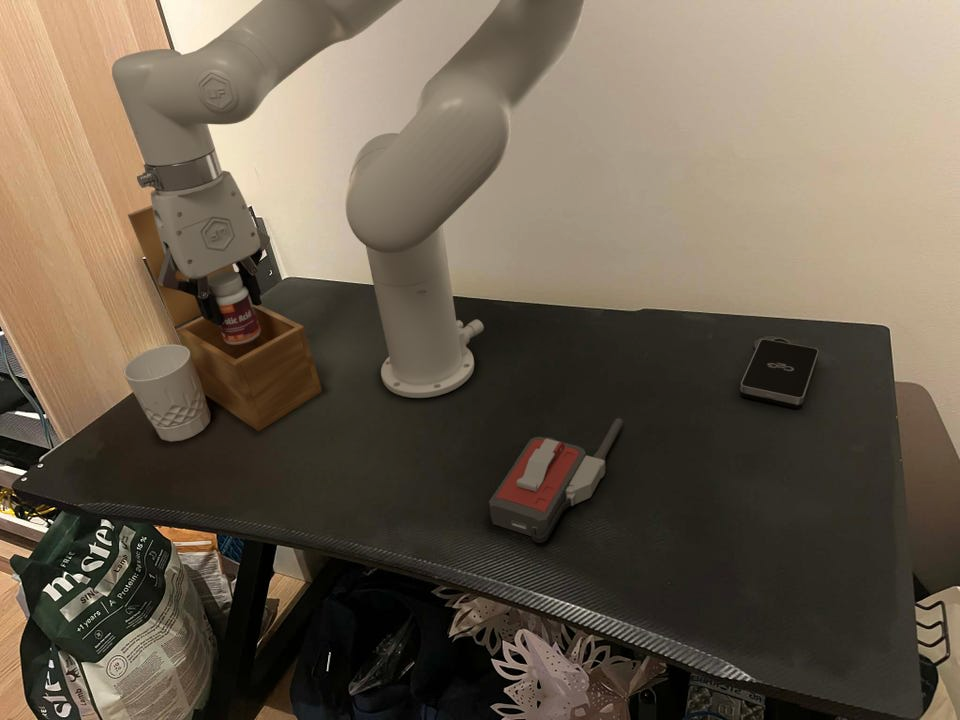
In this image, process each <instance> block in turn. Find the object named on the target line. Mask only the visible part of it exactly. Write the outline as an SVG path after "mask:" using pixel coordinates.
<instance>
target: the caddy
mask: <svg viewBox="0 0 960 720" xmlns="http://www.w3.org/2000/svg"><path fill="white" fill-rule="evenodd" d="M253 307H254V310H255V313H256V316H257V319H258V322H259V325H260V329H261V332H260V334H259V336H258V337H257V338H256V339H254V340H253V341H251V342H248V343H245V344H241V345H230V344H227V343H226V342H225V341H224V339H223V336H222V333H221V330H220V328H219V326H218V325H216V324H214V323H213V322H211V321H209V320H206V319H204V318H203V316H202V315H201V316H200V317H197V318H195V319H194V320H191V321H189V322H188V323H185V324H182V325H181V326H179V327H177V328H175V331H176V334H177V336H178V338H179V341H180V343H181V344H180V345H182V346H185V347H187V348H188V349H189V350H190V353H191V356H192V359H193V362H194V365H195V367H196V370H197V373H198V376H199V379H200V382H201V385H202V389H203V391H204V394H205V397H206V398H209V399H210V400H212V401H213V402H215V404H218V405H219V406H221V407H222V408H223V409H224V410H226V411H227V412H229V413H231V414H232V415H234V416H235V417H237V418H238V419H240V420H241V421H242V422H244V423H245V424H247V425H248V426H250V427H251V428H253V429H254V430H255V431H257V432H260V431H262V430H264V429H265V428H267V427H268V426H269V425H271V424H273V423H275V422H276V421H278V420H280V419H281V418H282V417H284V416H286V415H288V414H290V413H291V412H293V411H294V410H295V409H297V408H299V407H301V406H302V405H304V404H305V403H307V402H309V401H310V400H312V399H313V398H315V397H316V396H318V395H319V394H321V393H323V388H322V384H321V382H320V381H321V380H320V379H319V375H318V372H317V368H316V365H315V361H314V358H313V354H312V351H311V347H310V344H309V340H308V336H307V333H306V330H305V326H304V325H301V324H299V323H297V322H295V321H293V320H292V319H289V318H287V317H285V316H283V315H281V314H279V313H277V312H275V311H273V310H271V309H268V308H266V307H264V306H262V305H259V306H255V305H253Z"/></svg>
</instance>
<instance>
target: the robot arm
mask: <svg viewBox="0 0 960 720" xmlns="http://www.w3.org/2000/svg"><path fill="white" fill-rule="evenodd" d="M402 1H403V0H261V1H260V2H259V3H257V4H256V5H255V6H254V7H252V9H251V10H249V11H248V12H247V13H245V14H244V15H243V16H241V18H240V19H238V20H236V22H234V23H233V24H232V25H231V26H230V27H228V28H227V29H226V30H225V31H224V32H222V33H221V34H220V35H218V36H217V37H215V38H213V39H212V40H211V41H209V42H208V43H207V44H205V45H204V46H202V47H200V48H198V49H197V50H194V51H191V52H189V53H183V54H182V53H181V52H179V51H178V50H176V49H171V48H156V49H148V50H144V51H143V50H142V51H138V52H137V51H136V52H134V53H130V54H127V55H123V56H121V57H119V58H118V59H117V60H115V61H114V63H113V64H112V67H111V76H112V80H113V83H114V86H115V89H116V91H117V94H118V96H119V99H120V101H121V104H122V106H123V110H124V112H125V115H126V117H127V121H128V123H129V125H130V128H131V130H132V134H133V137H134V138H135V141H136V144H137V147H138V149H139V151H140V155H141V157H142V160H143V162H144V164H143V168H144V172H142V174H140V175H137V176H136V180H137V183H138V184H139V186H140V187H141V188H142V189H144V188H147V187H149V188H153V190H151V191H150V201H151V205H152V208H153V214H154V218H155V223H156V227H157V231H158V234H159V238H160V241H161V244H162V247H163V250H164V253H165V258H164V261H163V264H162V268H161V271H160V274H159V278H158V284H159V285H161V286H163V287H165V288H169V289H174V290H179V291H183V292H185V293H188V294H191V295H193V296H195V298H196V301H197V304H198V306H199V309H200V312H201V317H202V316H203V318H204V319H206V320H209V321H211V322H213V323H214V324H216V325H218V326H219V325H221V324H223V322H224V321H223V318H222V315H221V313H220V310H219V307H218V304H217V302H216V299H215V297H214V296H213V295H211V294H210V293H209V291H208V279H207V276H208V275H210V274H212V273H215V272H217V271H219V270H221V269H223V268H226V267H228V266H230V265H232V264H233V265H235V266H236V267H237V269H238V270H237V272H238V273H239V274H240V277H241V280H242V283H243V286H245V287H246V288H247V289H248V291H249V295H250V298H251V301H252V304H253V305H255V306H259V305H260V306H262V304H263V302H262V299H261V297H260V295H261V294H262V292H261V288H260V286H259V282H258V279H257V276H256V275H258V273H259V268H258V267H259V264H260V262H261V259H262V258H263V252H264V251H265V250H266V248H267V246H268V245H269V243H270V241H271V236H270V235H269V234H268V233H266V232H264V231H263V230H261V229H260V228H258V227H257V226H256V224H255V221H254V219H253V217H252V214H251V212H250V209H249V207H248V205H247V202H246V200H245V197H244V196H243V194H242V191H241V190H240V187H239V186H238V184H237V181H236V180H235V178H234V176H233V175H232V173H231V172H230V171H228V170H223V169H222V166H221V165H222V164H221V163H220V160H219V155H218V153H217V149H216V147H215V144H214V141H213V137H212V134H211V131H210V127H209V125H223V126H224V125H232V124H233V125H234V124H239V123H241V122H244V121H246V120H248V119H249V118H251V116H253V115H254V114H255V112H256V111H257V110H258V108H259V107H260V106H261V104H262V103H263V101H264V100H265V98H266V97H267V96H268V95H269V94H270V93H271V92H272V91H274V89H275V88H276V87H277V86H279V84H281V83H282V82H284V81H285V80H286V79H287V78H288V77H289V76H291V75H292V74H294V73H295V72H296V71H297V70H298V69H300V68H301V67H302V66H303V65H305V64H306V63H308V62H309V61H310V60H311V59H313V58H314V57H316V56H317V55H318V54H319V53H321V52H323V51H325V50H326V49H328V48H329V47H331V46H333V45H335V44H338V43H341V42H346V41H349V40H352V39H353V38H355V37H356V36H358V35H359V34H361V33H363V32H364V31H366V30H367V29H368V28H369V27H371V26H372V25H374V23H375V22H377V21H378V20H379V19H381V18H382V17H383V16H384V15H386V14H387V13H388V12H389V11H391V10H392V9H393V8H394V7H396V6H397V5H398V4H400V3H401V2H402ZM585 3H586V0H499V2H498V3H497V5H496V6H495V8H494V9H493V10H492V11H491V13H490V14H489V15H488V16H487V18H486V19H485V20H484V21H483V22H482V23H481V25H480V26H479V27H478V29H477V30H476V31H475V32H474V34H472V36H471V37H469V39H468V40H467V41H466V42H465V43H464V44H463V45H462V46H461V48H459V50H457V51H456V53H455V54H453V56H452V57H451V58H450V59H449V60H448V61H447V63H445V64H444V65H443V66H442V67H441V68H440V69H439V70H438V71H437V72H436V73H435V74H434V75H433V76H432V77H430V78H429V80H428V81H427V82H426V83H425V85H424V86H423V88H422V89H421V91H420V93H419V96H418V99H417V104H416V114H415V115H414V116H413V117H412V119H411V120H410V121H409V122H408V123H406V125H405V126H404V127H403V129H402V130H401V131H400V132H399V133H397V132H389V133H388V132H387V133H382V134H379V135H377V136H374V137H373V138H371V139H370V140H368V141H367V142H366V143H365V144H364V145H363V146H362V147H361V149H360V150H359V151H358V153H357V154H356V157H355V158H354V160H353V164H352V167H351V171H350V175H349V180H348V186H347V189H346V196H345V216H346V219H347V222H348V225H349V227H350V230H351V231H352V233H353V234H354V236H355V237H356V238H357V239H358V241H359V242H360V243H362V244H363V245H365V251H366V256H367V260H368V265H369V268H370V275H371V279H372V284H373V289H374V293H375V298H376V302H377V307H378V312H379V317H380V321H381V326H382V330H383V335H384V339H385V343H386V348H387V353H388V357H387V358H386V359H385V361H384V362H383V363H382V365H381V368H380V376H381V381H382V383H383V385H384V387H385V388H386V389H388V391H390V392H392V393H394V394H395V395H398V396H401V397H404V398H411V399H425V398H426V399H427V398H433V397H438V396H441V395H445V394H447V393H450V392H453V391H454V390H456V389H458V388H460V387H461V386H462V385H463V384H465V383H466V382H467V381H468V380H469V379H470V378H471V376H472V375H473V374H474V370H475V359H474V355H473V353H472V351H471V350H470V349H469V348H468V347H467V345H468V344H469V343H470V342H471V341H470V339H472V338H474V337H476V336H478V335H479V334H481V333H482V332H483V331H484V330H485V329H484V328H485V326H484V324H483V322H482V321H480V320H479V319H474V320H472V321H470V322H469V323H467V324H466V326H464V323H463V321H462V320H460V319H457V316H456V310H455V301H454V296H453V295H454V294H453V289H452V282H451V276H450V270H449V261H448V253H447V246H446V240H445V234H444V233H445V232H444V226H443V224H444V223H445V222H446V221H447V220H449V218H450V217H451V216H453V214H455V212H457V211H458V210H459V209H460V208H461V207H462V206H463V205H464V204H465V203H466V202H467V200H469V199H470V198H471V197H472V196H473V195H474V194H475V193H476V192H477V191H478V190H479V189H480V188H481V187H482V186H483V185H484V184H485V183H486V182H487V181H488V180H489V179H490V178H491V176H493V174H494V173H495V171H496V170H497V169H498V168H499V166H500V165H501V163H502V161H503V159H504V158H505V156H506V155H507V154H506V153H507V151H508V149H509V146H510V142H511V136H512V135H511V134H512V131H511V130H512V125H511V124H512V123H511V117H512V115H513V114H514V113H515V111H516V110H518V108H519V107H520V106H521V105H522V104H523V103H525V101H526V100H527V99H528V98H529V97H530V96H531V95H532V93H533V92H534V91H535V90H536V89H537V88H538V86H540V84H541V83H542V82H543V81H545V79H546V78H547V76H548V75H549V74H550V73H551V72H552V71H553V69H554V68H555V67H556V66H557V65H558V64H559V62H560V61H561V60H562V58H563V57H564V55H565V54H566V52H567V51H568V49H569V47H570V46H571V44H572V42H573V40H574V39H575V36H576V33H577V31H578V29H579V26H580V22H581V20H582V17H583V16H582V15H583V13H584V8H585ZM176 271H181V273H182V274H183V275H184V276H186V277H187V281H185V280H182V279H177V278H176V277H175V275H176Z"/></svg>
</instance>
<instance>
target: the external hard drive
mask: <svg viewBox="0 0 960 720" xmlns="http://www.w3.org/2000/svg"><path fill="white" fill-rule="evenodd" d="M819 352H820V350H819V349H818V348H817V347H811V346H808V345H807V346H806V345H800V344H795V343H791V342H784V341H777V340H773V339H767V338H762V339H759V340H758V343H757V345H756V347H755V350H754V352H753V355H752V357H751V359H750V361H749V363H748V366H747V368H746V370H745V373H744V374H743V376H742V379H741V382H740V386H739V394H740V397H743V398H746V399H750V400H753V401H754V400H755V401H759V402H764V403H768V404H773V405H776V406H777V405H778V406H783V407H787V408H792V409H800V408H802V407H803V404H804V401H805V399H806V395H807V392H808V389H809V386H810V383H811V381H812V377H813V373H814V371H815V368H816V365H817V362H818V358H819Z"/></svg>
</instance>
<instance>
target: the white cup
mask: <svg viewBox="0 0 960 720" xmlns="http://www.w3.org/2000/svg"><path fill="white" fill-rule="evenodd" d="M123 377H124V378H125V380H126V382H127V384H128V385H129V387H130V389H131V391H132V393H133V395H134V397H135V398H136V400H137V402H138V404H139V406H140V407H141V409H142V411H143V413H144V414H145V415H146V418H147V419H148V421H149V422H150V423H151V425H152V426H153V429H154V430H155V432H156V434H157V436H159V439H161V440H163V441H165V442H166V441H167V442H170V443H171V442H181V441H185V440H187V439H191V438H194V437H195V436H197V435H198V434H199V433H200V434H201V432H203V431H204V430H205V429H206V428H207V426H208V425H209V424H210V423H211V417H212V416H211V415H212V414H211V411H210V409H209V405H208V403H207V399H206V395H205V394H204V391H203V389H202V385H201V382H200V379H199V376H198V373H197V370H196V367H195V365H194V362H193V359H192V356H191V353H190V350H189V349H188V348H187V347H185V346H182V344H174V343H173V344H164V345H159V346H156V347H151V348H150V349H146V350H144V351H143V352H140V353H139V354H137V355H136V356H134V357H133V358H131V359H130V360H129V361H128V362H127V363H126V364H125V365H124V368H123Z"/></svg>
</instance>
